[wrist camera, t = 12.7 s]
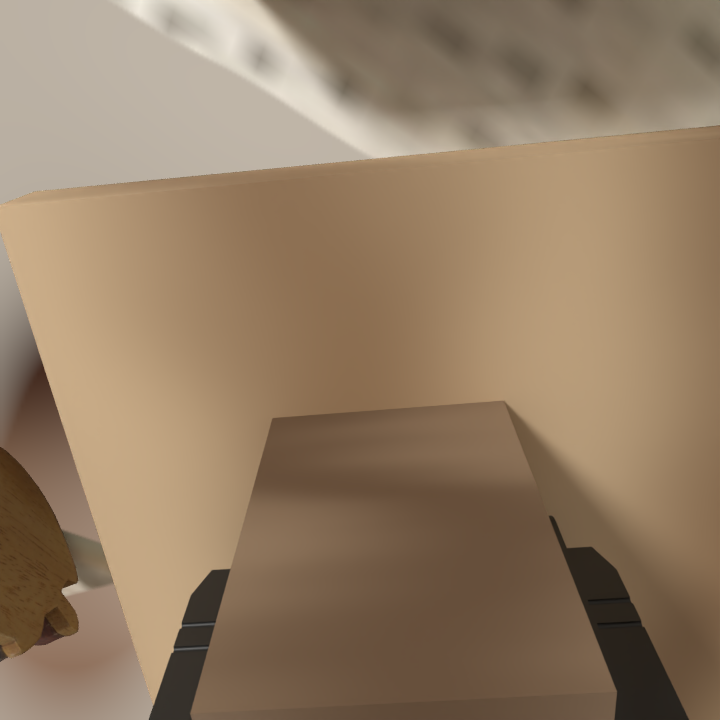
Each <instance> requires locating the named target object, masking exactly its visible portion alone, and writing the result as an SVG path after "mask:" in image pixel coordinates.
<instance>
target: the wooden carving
mask: <svg viewBox="0 0 720 720" xmlns="http://www.w3.org/2000/svg"><path fill="white" fill-rule="evenodd" d="M77 582H78V576H77V572H76V567H75V564H74V561H73V559H72V556H71V553H70V551H69V548H68V546H67V543H66V540H65V537H64V535H63V533H62V530H61V528H60V526H59V523H58V521H57V519H56V516H55V514H54V512H53V511H52V509H51V507H50V505H49V503H48V502H47V500H46V498H45V496H44V495H43V493H42V492H41V490H40V489H39V487H38V486H37V485H36V483H35V482H34V480H33V479H32V478H31V477H30V475H29V474H28V473H27V472H26V470H25V469H24V468H23V467H22V466H21V465H20V464H19V463H18V461H17V460H16V459H14V458H13V457H12V456H11V455H10V454H9V453H8V452H7V451H6V450H4V449H3V448H1V447H0V662H1V661H2V660H4V659H5V658H8V657H10V658H14V657H16V656H19V655H21V654H23V653H25V652H26V651H27V650H29V649H30V648H31V647H32V646H34V645H46V644H48V643H51V642H52V641H54V640H57V639H59V638H62V637H64V636H70V635H72V634H75V633H76V632H78V623H79V622H78V618H77V614H76V612H75V610H74V609H73V607H72V606H71V604H70V603H69V602H68V600H67V599H66V598H65V596H64V595H63V594H62V593H61V592H62V588H65V587H68V586H70V585H73V584H76V583H77Z"/></svg>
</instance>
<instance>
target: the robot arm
mask: <svg viewBox="0 0 720 720" xmlns="http://www.w3.org/2000/svg"><path fill="white" fill-rule="evenodd" d="M549 518H550V521H551V524H552V526H553V529H554V531H555V534H556V536H557V539H558V542H559V544H560V547H561V549H562V552H563V554H564V557H565V560H566V562H567V565H568V567H569V570H570V572H571V575H572V577H573V580H574V583H575V585H576V588H577V590H578V593H579V595H580V598H581V601H582V603H583V606H584V608H585V611H586V613H587V616H588V619H589V621H590V624H591V626H592V629H593V631H594V634H595V637H596V639H597V642H598V644H599V647H600V649H601V652H602V655H603V657H604V660H605V662H606V665H607V667H608V670H609V673H610V675H611V678H612V680H613V683H614V685H615V688H616V691H617V697H616V708H615V718H614V720H689V718H688V716H687V714H686V712H685V710H684V708H683V706H682V704H681V702H680V700H679V698H678V695H677V693H676V691H675V689H674V687H673V685H672V683H671V681H670V679H669V677H668V675H667V673H666V671H665V668H664V666H663V664H662V662H661V660H660V658H659V656H658V654H657V652H656V650H655V648H654V646H653V644H652V641H651V639H650V637H649V635H648V633H647V631H646V629H645V627H643V626H642V621H641V619H640V617H639V614H638V612H637V610H636V608H635V606H634V604H633V603H631V600H630V596H629V594H628V592H627V590H626V587H625V585H624V583H623V581H622V579H621V577H620V575H619V573H618V571H617V569H616V568H615V567H614V566H613V565H611V564H610V563H609V562H608V561H607V560H606V559H605V558H604V557H603V556H602V555H600V554H599V553H598V552H597V551H596V550H595V549H594V548H593V547H576V548H567V547H566V545H565V542H564V540H563V537H562V535H561V532H560V530H559V527H558V525H557V522H556V520H555V518H554V517H553V516H551V515H550V516H549ZM229 573H230V569H219V570H211V572H210V573H209V574H208V575H207V576H206V578H205V579H204V580H203V581H202V582H201V584H200V585H199V586H198V587H197V588H196V589H195V591H194V592H193V593H192V594H191V596H190V599H189V602H188V605H187V608H186V611H185V614H184V617H183V620H182V623H181V624H182V627H181V629H179V632H178V635H177V638H176V641H175V643H174V646H173V647H174V651H173V653H171V655H170V658H169V661H168V664H167V667H166V670H165V673H164V676H163V679H162V682H161V685H160V688H159V691H158V694H157V697H156V700H155V703H154V706H153V709H152V711H151V714H150V718H149V720H192V718H191V715H190V713H191V709H192V706H193V702H194V698H195V695H196V691H197V688H198V684H199V680H200V677H201V673H202V670H203V666H204V662H205V659H206V655H207V652H208V648H209V645H210V641H211V637H212V634H213V630H214V627H215V623H216V619H217V616H218V612H219V609H220V605H221V601H222V598H223V594H224V591H225V587H226V583H227V580H228V576H229Z"/></svg>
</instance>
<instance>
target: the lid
mask: <svg viewBox="0 0 720 720" xmlns="http://www.w3.org/2000/svg"><path fill="white" fill-rule="evenodd" d="M0 232H1V235H2V238H3V241H4V244H5V247H6V250H7V253H8V257H9V259H10V263H11V266H12V269H13V272H14V275H15V278H16V281H17V285H18V288H19V291H20V293H21V297H22V300H23V303H24V306H25V309H26V312H27V315H28V319H29V322H30V325H31V328H32V331H33V334H34V337H35V340H36V343H37V346H38V350H39V352H40V356H41V359H42V362H43V365H44V368H45V371H46V374H47V378H48V381H49V384H50V387H51V390H52V393H53V396H54V399H55V402H56V405H57V409H58V412H59V415H60V418H61V421H62V424H63V427H64V430H65V433H66V436H67V439H68V443H69V446H70V449H71V452H72V455H73V458H74V461H75V464H76V467H77V471H78V474H79V477H80V480H81V483H82V486H83V489H84V492H85V495H86V498H87V502H88V504H89V508H90V511H91V514H92V517H93V520H94V523H95V526H96V529H97V533H98V536H99V539H100V542H101V545H102V548H103V551H104V554H105V557H106V560H107V564H108V567H109V570H110V573H111V576H112V579H113V582H114V585H115V588H116V591H117V595H118V598H119V601H120V604H121V607H122V610H123V613H124V616H125V619H126V622H127V626H128V629H129V632H130V635H131V637H132V641H133V644H134V647H135V650H136V653H137V657H138V660H139V663H140V665H141V669H142V672H143V675H144V678H145V681H146V684H147V688H148V691H149V694H150V697H151V700H152V703H153V706H154V703H155V700H156V697H157V694H158V691H159V688H160V685H161V682H162V679H163V676H164V673H165V670H166V667H167V664H168V661H169V658H170V655H171V653H173V651H174V647H173V646H174V643H175V641H176V638H177V635H178V632H179V629H181V627H182V624H181V623H182V620H183V617H184V614H185V611H186V608H187V605H188V602H189V599H190V596H191V594H192V593H193V592H194V591H195V589H196V588H197V587H198V586H199V585H200V584H201V582H202V581H203V580H204V579H205V578H206V576H207V575H208V574H209V573H210V572H211V570H219V569H230V573H229V576H228V580H227V583H226V587H225V591H224V594H223V598H222V601H221V605H220V609H219V612H218V616H217V619H216V623H215V627H214V630H213V634H212V637H211V641H210V645H209V648H208V652H207V655H206V659H205V662H204V666H203V670H202V673H201V677H200V680H199V684H198V688H197V691H196V695H195V698H194V702H193V706H192V709H191V713H190V715H191V718H192V720H614V718H615V708H616V697H617V691H616V688H615V685H614V683H613V680H612V678H611V675H610V673H609V670H608V667H607V665H606V662H605V660H604V657H603V655H602V652H601V649H600V647H599V644H598V642H597V639H596V637H595V634H594V631H593V629H592V626H591V624H590V621H589V619H588V616H587V613H586V611H585V608H584V606H583V603H582V601H581V598H580V595H579V593H578V590H577V588H576V585H575V583H574V580H573V577H572V575H571V572H570V570H569V567H568V565H567V562H566V560H565V557H564V554H563V552H562V549H561V547H560V544H559V542H558V539H557V536H556V534H555V531H554V529H553V526H552V524H551V521H550V518H549V516H550V515H551V516H553V517H554V518H555V520H556V522H557V525H558V527H559V530H560V532H561V535H562V537H563V540H564V542H565V545H566V547H567V548H576V547H593V548H594V549H595V550H596V551H597V552H598V553H599V554H600V555H602V556H603V557H604V558H605V559H606V560H607V561H608V562H609V563H610V564H611V565H613V566H614V567H615V568H616V569H617V571H618V573H619V575H620V577H621V579H622V581H623V583H624V585H625V587H626V590H627V592H628V594H629V596H630V600H631V603H633V604H634V606H635V608H636V610H637V612H638V614H639V617H640V619H641V621H642V626H643V627H645V629H646V631H647V633H648V635H649V637H650V639H651V641H652V644H653V646H654V648H655V650H656V652H657V654H658V656H659V658H660V660H661V662H662V664H663V666H664V668H665V671H666V673H667V675H668V677H669V679H670V681H671V683H672V685H673V687H674V689H675V691H676V693H677V695H678V698H679V700H680V702H681V704H682V706H683V708H684V710H685V712H686V714H687V716H688V718H689V720H720V126H710V127H699V128H689V129H678V130H668V131H658V132H647V133H637V134H627V135H616V136H606V137H595V138H585V139H575V140H564V141H554V142H543V143H533V144H523V145H512V146H502V147H492V148H481V149H471V150H460V151H450V152H440V153H429V154H419V155H409V156H398V157H388V158H377V159H367V160H357V161H346V162H336V163H325V164H315V165H305V166H294V167H284V168H274V169H263V170H253V171H243V172H233V173H222V174H211V175H201V176H191V177H180V178H170V179H160V180H149V181H139V182H129V183H118V184H108V185H99V186H98V185H97V186H87V187H77V188H67V189H56V190H45V191H35V192H32V193H29V194H27V195H24V196H22V197H19V198H16V199H14V200H11V201H9V202H6V203H4V204H1V205H0Z"/></svg>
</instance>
